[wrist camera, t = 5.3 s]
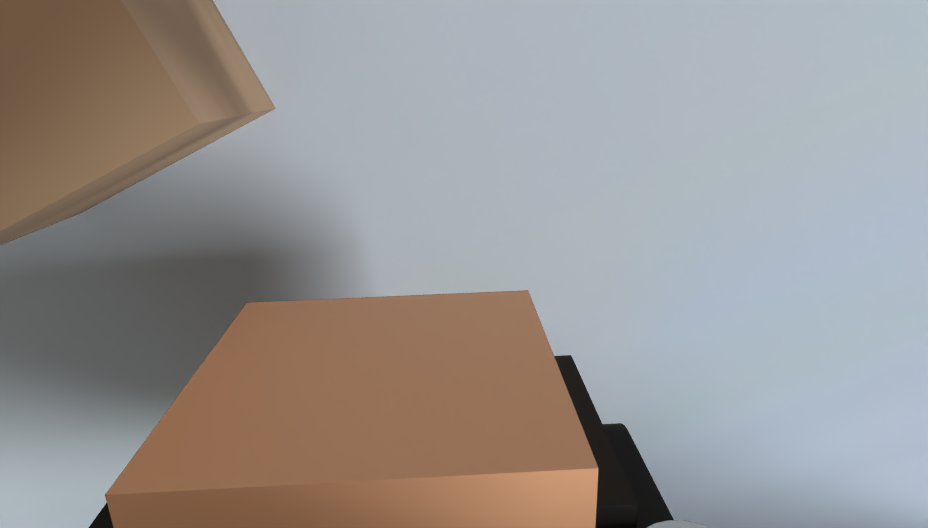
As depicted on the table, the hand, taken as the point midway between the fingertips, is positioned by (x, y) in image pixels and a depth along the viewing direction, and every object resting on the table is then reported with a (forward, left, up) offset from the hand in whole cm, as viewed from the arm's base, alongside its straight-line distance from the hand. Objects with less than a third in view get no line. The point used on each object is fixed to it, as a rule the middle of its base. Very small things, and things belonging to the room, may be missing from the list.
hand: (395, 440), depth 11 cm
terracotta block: (0, 0, -1) cm, 1 cm away
